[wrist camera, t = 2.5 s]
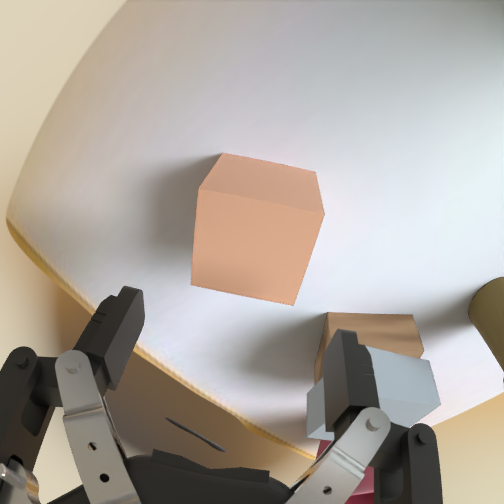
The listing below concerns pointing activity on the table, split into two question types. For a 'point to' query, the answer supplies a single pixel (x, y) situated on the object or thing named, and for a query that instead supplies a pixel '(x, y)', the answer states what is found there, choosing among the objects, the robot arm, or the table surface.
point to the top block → (385, 392)
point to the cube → (255, 228)
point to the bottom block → (372, 334)
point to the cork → (490, 316)
